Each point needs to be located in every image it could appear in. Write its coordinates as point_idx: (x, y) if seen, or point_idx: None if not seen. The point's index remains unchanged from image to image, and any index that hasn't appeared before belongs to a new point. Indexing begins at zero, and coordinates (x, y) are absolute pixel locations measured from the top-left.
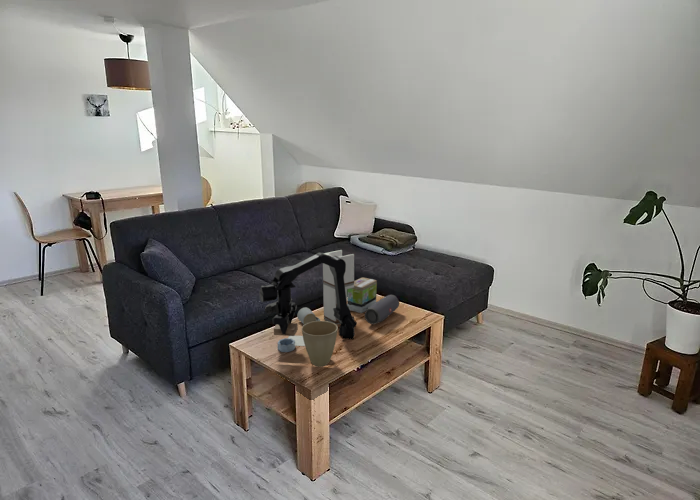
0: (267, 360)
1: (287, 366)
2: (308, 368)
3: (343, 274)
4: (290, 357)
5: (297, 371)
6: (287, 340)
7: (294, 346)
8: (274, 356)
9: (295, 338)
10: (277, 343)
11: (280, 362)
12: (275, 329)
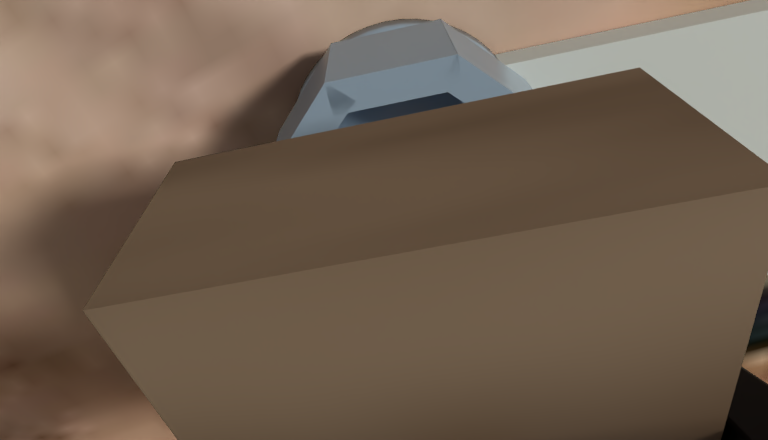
0: (13, 22)
1: (71, 299)
2: (161, 434)
3: None
4: None
5: (61, 394)
6: None
7: None
8: (173, 62)
9: (734, 133)
10: (326, 78)
11: (91, 205)
12: (136, 341)
